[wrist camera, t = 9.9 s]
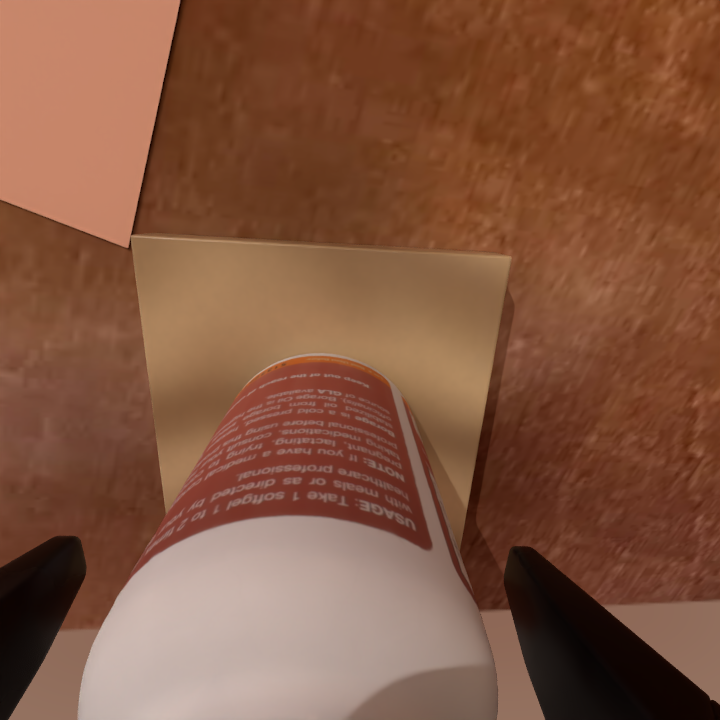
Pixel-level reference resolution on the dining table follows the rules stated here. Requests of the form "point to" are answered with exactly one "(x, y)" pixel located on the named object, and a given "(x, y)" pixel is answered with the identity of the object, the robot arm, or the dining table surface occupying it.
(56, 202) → the pink tile
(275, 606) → the pill bottle
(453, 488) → the cutting board
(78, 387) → the dining table surface
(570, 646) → the robot arm
